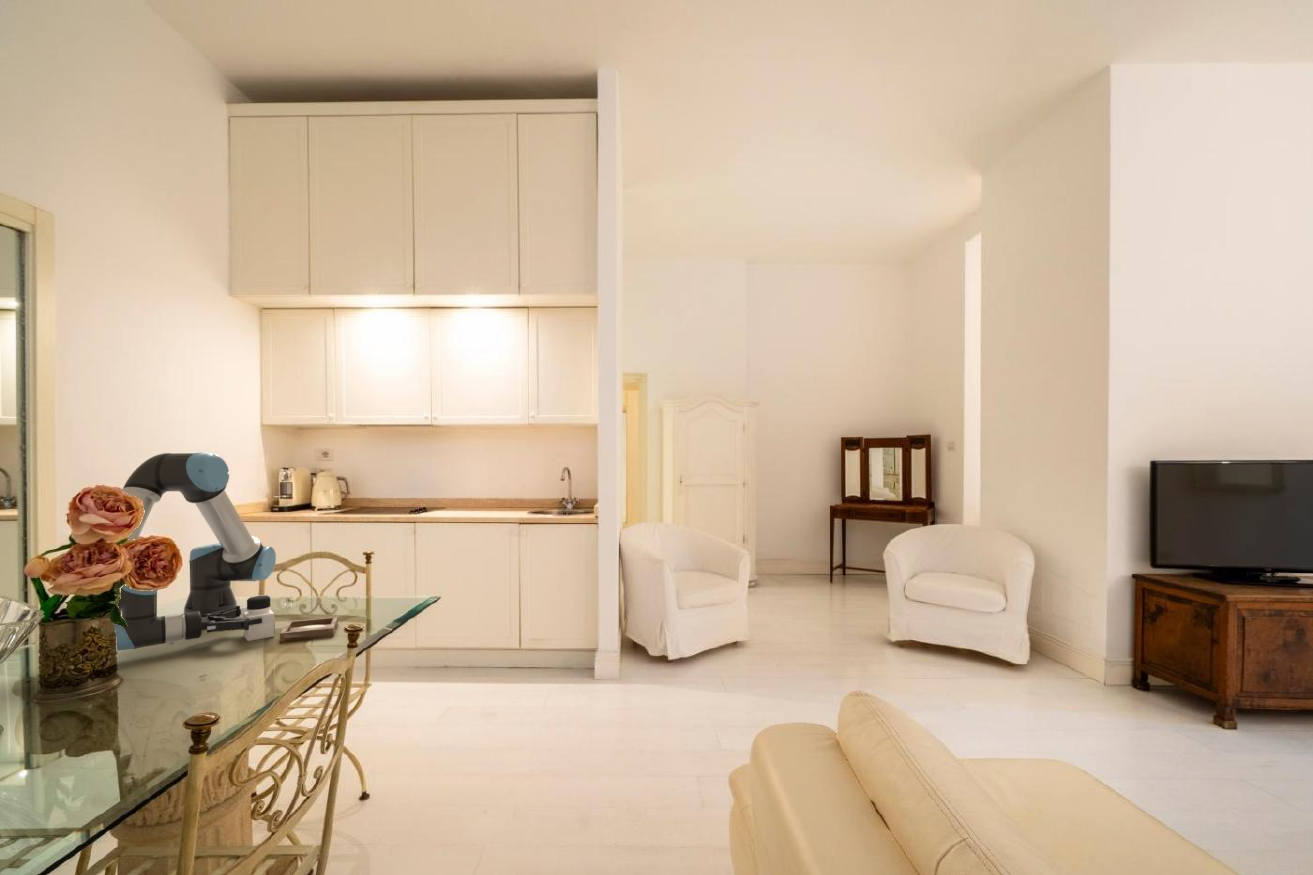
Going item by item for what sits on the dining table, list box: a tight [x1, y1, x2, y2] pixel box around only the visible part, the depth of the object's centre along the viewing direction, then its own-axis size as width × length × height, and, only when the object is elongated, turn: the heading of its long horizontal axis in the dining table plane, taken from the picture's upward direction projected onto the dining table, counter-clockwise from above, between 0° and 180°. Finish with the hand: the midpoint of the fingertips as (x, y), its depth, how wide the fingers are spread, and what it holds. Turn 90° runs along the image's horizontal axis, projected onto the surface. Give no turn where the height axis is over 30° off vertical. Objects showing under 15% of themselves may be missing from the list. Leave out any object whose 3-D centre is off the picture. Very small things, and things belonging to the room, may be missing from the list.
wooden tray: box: [279, 616, 339, 643], centre depth 200 cm, size 14×14×2 cm
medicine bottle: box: [242, 594, 276, 642], centre depth 197 cm, size 7×7×12 cm
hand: (269, 613), depth 199 cm, fingers open, 13 cm apart
